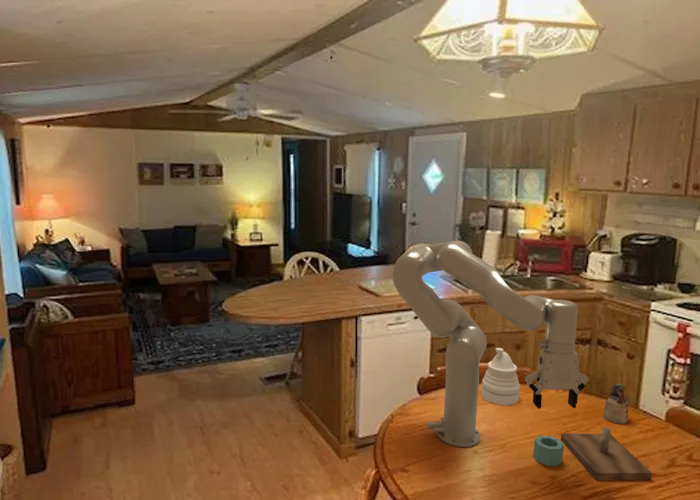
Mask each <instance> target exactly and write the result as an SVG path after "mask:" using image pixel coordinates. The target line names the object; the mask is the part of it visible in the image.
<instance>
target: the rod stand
mask: <svg viewBox="0 0 700 500" xmlns="http://www.w3.org/2000/svg"><path fill="white" fill-rule="evenodd" d="M560 441H561V442H562V443H563V445H564V446H565V447H566V448H567V449H568V450H569V451H570V452H571V454H572V455H573V456H574V457H575V458H576V459H577V460H578V462H579V463H580V464H581V465H582V467H584V468H585V470H586V471H587V472H588V473H589V474H590V476H592V478H593V479H594V480H595V481H651V480H652V475H653V472H652V470H649V469H648V467H646V466H645V464H643V463H642V462H641V461H640V460H639V459H638V458H637V457H635V456H634V454H632V452H630V451H629V450H628V448H626V447H625V446H624V445H623V444H622V443H621V442H619V441H618V440H617V439H616V438H615V437H614V436H613V435H612V434H611V428H610V427H607V426H603V427H602V431H601V433H561V434H560ZM638 479H639V480H638ZM650 479H651V480H650Z"/></svg>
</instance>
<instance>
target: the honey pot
mask: <svg viewBox="0 0 700 500" xmlns="http://www.w3.org/2000/svg"><path fill="white" fill-rule="evenodd" d="M495 352H496V355H495V356H494V358H493V359H491V360H490V361H489V362H487V367H488V368H487V370H486V371H485V374H484V377H483V378H482V380H481V389H480V390H481V391H480V395H481V398H482V397H483V398H484V399H483V398H482V399H483V400H485V399H486V400H487V402H488V401H489V403H491V402H492V403H491V404H494V403H495V404H494V405H498V404H499V405H500V406H513V405H515V404H517V403H519V401H520V389H521V385H520V382H519V378H518V377H519V376H518V374H517V371H518V367H517V365H516V364H514V362H513V360H512V358H511V357H510V354H508V353H507V352H506V351H504V348H502V347H495ZM486 400H485V401H486Z"/></svg>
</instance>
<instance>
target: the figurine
mask: <svg viewBox="0 0 700 500" xmlns="http://www.w3.org/2000/svg"><path fill="white" fill-rule="evenodd" d="M625 389H626V388H625V385H623V384H620V383H616V384H614V385H612V386H611V390H610V393H608V396H607V398H606V401H605V404H604V405H605V406H604V409H603V418H604V419H605V420H606V421H609V422H610V423H613V424H616V425H617V424H618V425H624V424H628V421H629V402H628V400H627V398H625Z"/></svg>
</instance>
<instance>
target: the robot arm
mask: <svg viewBox="0 0 700 500" xmlns="http://www.w3.org/2000/svg"><path fill="white" fill-rule="evenodd" d="M441 271H444V272H445V273H447V274H448V275H450V276H452V277H453V278H454V279H456V280H457V281H459V282H460V283H462V284H464V285H465V286H466V287H468V288H469V289H471V290H472V291H474V292H475V293H476V294H478V295H479V296H480V297H481V299H482V300H484V301H485V303H487V304H488V306H489V307H491V308H492V309H493V311H495V312H496V313H498V315H500V316H501V317H503V318H504V319H506V320H508V322H511V323H512V324H513V325H515V326H517V327H518V328H520V329H522V330H526V331H534V330H536V329H539V328H540V327H541V326H542V325H543V323H544V324H545V331H544V333H545V334H544V339H543V341H540V342H539V347H540V348H542V349H541V352H540V355H539V357H538V363H537V369H536V370H535V371H534V372H532V373H530V374H527V375H526V376H524V380H525V382H526V384H527V386H528V388H529V389H531V391H533V392H532V393H533V395H532V403H533V404H534V406H535V407H536V408H537V409H538V410H540V409H542V402H543V401H542V400H543V399H542V398H543V395H542V394H541V393H542V392H543V391H544V390H551V391H552V390H555V391H556V390H557V391H559V390H565V391H566V390H568V396H567V397H568V398H567V404H568V405H569V406H570V407H571V408H572V409H576V408H577V404H578V400H579V399H578V397H579V396H578V395H580V394H581V392H582V391H583V389H585V387H586V384H588V382H589V380H590V378H589V376H587V375H586V374H584V373H582V372H580V363H579V356H578V352H577V351H575V350H576V349H575V348H576V347H575V345H576V338H577V337H576V336H577V335H576V334H577V325H578V324H577V323H578V313H579V311H578V310H579V308H578V305H577V304H576V302H573V301H570V300H567V299H553V298H548V297H544V296H540V295H535V294H534V295H533V294H530V295H526V296H524V297H523V296H522V295H520V294H519V293H518V292H516V291H515V290H513V289H512V288H511V287H510V286H509V285H508V284H507V283H506V282H505V281H504V279H503V277H502V275H501V274H500V272H499V271H498V270H497V268H495V267H494V266H492V265H490V264H489V263H487V262H486V261H484V260H483V259H482V258H480V257H479V256H476V255H475V254H474V253H473V250H472V248H471V247H470V245H469V244H468V243H466V242H465V241H462V240H452V241H447V242H446V241H445V242H441V243H435V244H429V245H428V244H427V245H423V246H422V245H421V246H418V247H415V248H413V249H410V250H408V251H406V252H405V253H402V255H400V257H398V258H397V260H396V262H395V263H394V266H393V270H392V281H393V285H394V288H395V289H396V291H397V293H398V294H399V296H401V298H402V299H403V301H404V302H406V303H407V305H408V306H409V307H410V308H411V310H412V311H413V313H414V314H415V315H416V317H417V318H418V319H419V320H420V322H422V324H423V325H424V326H425V328H426V329H427V330H428V332H430V334H432V336H435V337H437V338H447V337H449V338H450V340H449V343H448V344H447V347H446V350H445V370H446V371H445V389H444V390H445V392H444V404H443V405H444V406H443V407H444V408H443V417H440V420H438V421H437V422H436V421H435V422H434V421H428V422H426V428H427V430H432V433H436V435H437V437H438V438H439V440H441V441H442V442H443V443H445V444H447V445H450V446H453V447H460V448H470V447H474V446H476V445H478V444H479V442H480V441H481V433H480V432H479V431H478V430H477V427H476V425H477V413H478V400H479V388H480V387H479V385H480V361H481V359H482V356H483V354H484V353H485V351H486V348H487V346H488V345H487V344H488V341H487V337H486V335H485V333H484V331H483V330H482V329H481V327H480V326H479V325H478V323H476V322H475V320H474V319H473V318H472V316H471V315H470V314H469V313H468V312H467V311H466V309H464V307H463V306H462V305H461V304H460V303H458V302H457V301H456V300H453V299H448V298H447V299H444V298H443V299H441V298H440V297H439V296H438V294H437V293H436V292H435V291H434V289H433V288H432V287H431V286H430V285H428V283H426V282H425V281H424V279H423V276H425V275H427V274H428V273H429V274H430V273H434V272H441ZM534 380H536V382H535V384H534V383H533V381H534Z"/></svg>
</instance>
